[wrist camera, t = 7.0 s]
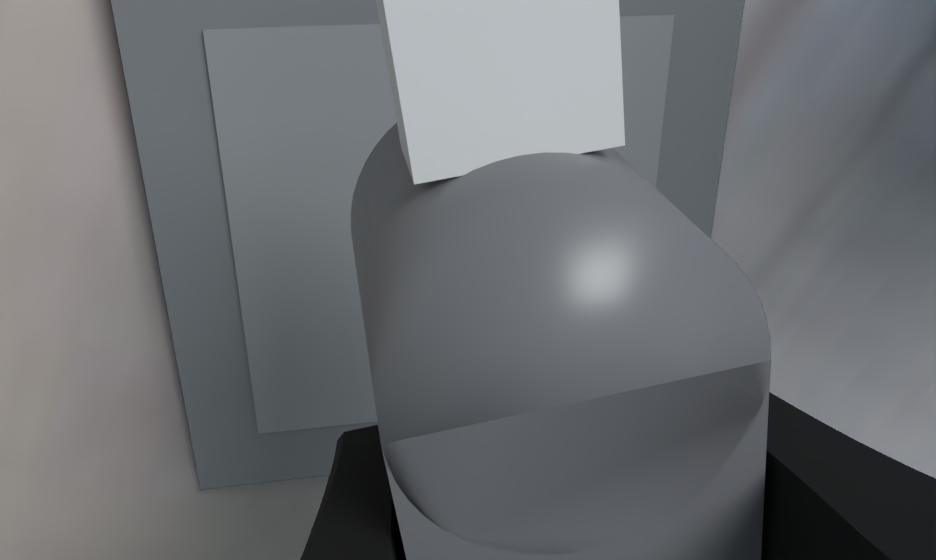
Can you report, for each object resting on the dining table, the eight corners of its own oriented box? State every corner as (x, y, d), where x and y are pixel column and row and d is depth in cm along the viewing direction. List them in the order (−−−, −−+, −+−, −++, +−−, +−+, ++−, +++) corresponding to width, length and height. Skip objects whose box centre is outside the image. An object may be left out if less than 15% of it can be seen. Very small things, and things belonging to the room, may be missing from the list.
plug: (284, -81, 10) (273, -37, 6) (599, -130, 10) (794, -118, 6) (427, 594, 15) (473, 862, 11) (633, 546, 15) (749, 788, 11)
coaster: (740, -71, 17) (757, -68, 16) (673, 420, 22) (684, 436, 22) (106, -62, 15) (98, -58, 14) (202, 473, 20) (199, 492, 20)
